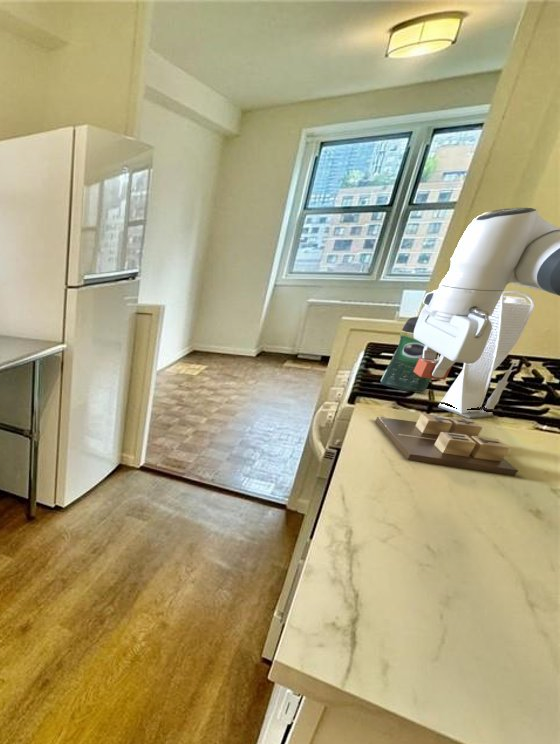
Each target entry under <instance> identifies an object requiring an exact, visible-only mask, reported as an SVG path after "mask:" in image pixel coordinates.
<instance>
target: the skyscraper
mask: <svg viewBox="0 0 560 744" xmlns="http://www.w3.org/2000/svg"><path fill="white" fill-rule="evenodd" d="M505 294H506V295H505ZM507 294H512V295H518V296H512V295H507ZM519 296H520V297H519ZM521 296H522V297H521ZM524 297H525V298H524ZM527 299H528V300H529V302H530V303H529V302H528V300H527ZM535 305H536V303H535V301H534V299H533V297H532V296H531V295H529V294H527V293H524V292H521V291H515V290H504V291H503V293H502V295H501V297H500V299H499V301H498V303H497V305H496V307H495V309H494V311H493V313H492V315H490V316H489V320H490V322H491V324H492V330H491V333H490V336H489V339H488V341H487V344H486V346H485V348H484V351H483V353H482V355H481V357H480V358H479V359H478V360H477V361H476V362H475V363H463V365H462V370H461V371H460V373H459V374H458V376H457V377H456V379H455V380H454V382H453V383H452V384H451V386H450V387H449V389H448V390H447V392H446V393H445V395H444V397H443V398H442V399H441V401H440V402H445V403H448V404H450V405H452V406H453V407H455V408H453V407H450V406H447V405H445V404H441V403H440V402H439V404H438V405H437V407H438V408H439V409H442V410H445V411H448V412H451V413H454V414H456V415H458V416H459V415H460V416H462V417H466V418H467V419H475V418H484V417H486V418H487V417H493V416H494V413H493V412H486V411H484V410H483V409H480V410H467V409H471V408H477V407H479V408H480V407H481V408H482V406H483V404H484V401H485V398H486V395H487V392H488V389H489V386H490V383H491V380H492V377H493V373H494V372H495V371H496V369H498V367H499V366H500V365H501V364H502V362H504V360H505V359H506V358H507V357H508V356H509V354H510V353H511V352H512V350H513V349H514V348H515V346H516V344H517V343H518V342H519V340H520V338H521V337H522V335H523V333H524V331H525V329H526V327H527V324H528V322H529V320H530V317H531V316H532V313H533V310H534V308H535ZM514 366H515V362H511V365H510V367H509V368H508V369H506V371H505V373H504V376H503V377H502V379H500V380H498V381H497V384H496V387H495V389H494V390H493V391H492V393H491V395H490V396H489V397H488V398H487V401H486V403H485V405H484V407H485V408H487V409H493V410H494V409H495V406H496V405H497V404H498V403H499V401H500V397H501V395H502V393H503V391H504V389H506V387H507V385H508V384H509V382H508V379H509V377H510V375H511V374H512V373H513V370H512V369H513V367H514ZM456 408H457V409H456Z"/></svg>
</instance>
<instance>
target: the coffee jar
mask: <svg viewBox="0 0 560 744" xmlns="http://www.w3.org/2000/svg"><path fill="white" fill-rule="evenodd" d="M418 318H419V316H412V317H410V318H408V319H407V321H405V323H404V326H403V327H402V329H401V331H400V339H399V343H398V345H397V347H396V350H395V352H394V354H393V356H392V358H391V359H390V362H389V364H388V365H387V367H386V369H385V370H384V373H383V375H382V376H381V379H380V383H381V384H382V385H383V386H385V387H388V388H391V389H396V390H399V391H404V392H405V391H406V392H412V393H413V392H414V393H418V392H419V393H422V392H424V391H426V389H428V386H429V384H430V381H431V379H432V378H423V377H420V376H419V375H417V374H416V373H415V372H413V371H414V369H415V367H416V364H417V362H418V360H419V358H422V356H423V349H424V347H425V345H424V344H423V343H421V342H419V341H418V340H416V339H414V329H415V326H416V323H417V320H418ZM439 355H440V354H439V353H438V352H437V354H436V358H435V359H438V358H439Z"/></svg>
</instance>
